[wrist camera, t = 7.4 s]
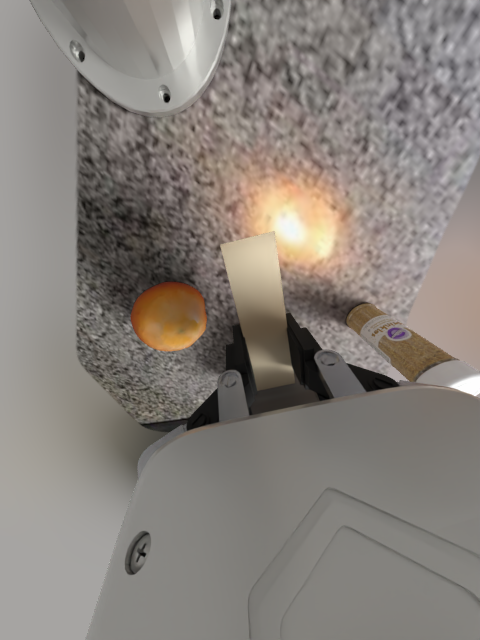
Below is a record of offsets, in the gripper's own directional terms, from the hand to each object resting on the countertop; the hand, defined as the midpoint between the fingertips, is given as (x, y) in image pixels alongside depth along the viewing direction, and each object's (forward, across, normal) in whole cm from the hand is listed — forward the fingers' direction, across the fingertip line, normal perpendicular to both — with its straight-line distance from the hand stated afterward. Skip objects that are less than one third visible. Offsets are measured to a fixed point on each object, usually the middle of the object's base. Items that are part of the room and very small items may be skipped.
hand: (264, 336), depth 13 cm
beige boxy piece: (+2, 0, -1) cm, 3 cm away
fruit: (+11, +10, 0) cm, 15 cm away
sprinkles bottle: (+12, -16, +9) cm, 22 cm away
